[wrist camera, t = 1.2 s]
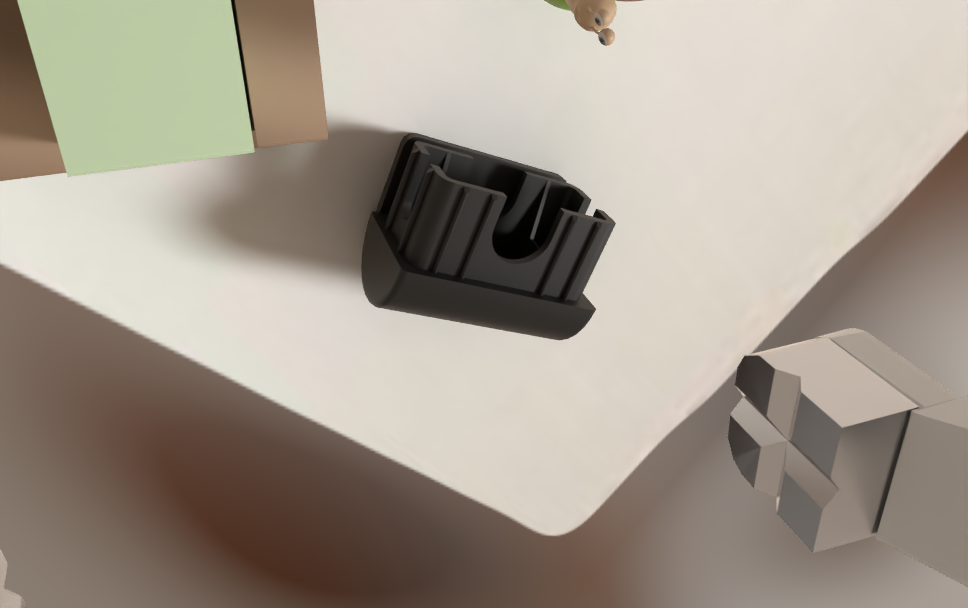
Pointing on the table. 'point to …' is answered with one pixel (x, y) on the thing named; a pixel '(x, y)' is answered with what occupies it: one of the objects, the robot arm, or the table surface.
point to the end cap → (482, 242)
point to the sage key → (139, 81)
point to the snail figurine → (592, 15)
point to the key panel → (265, 67)
